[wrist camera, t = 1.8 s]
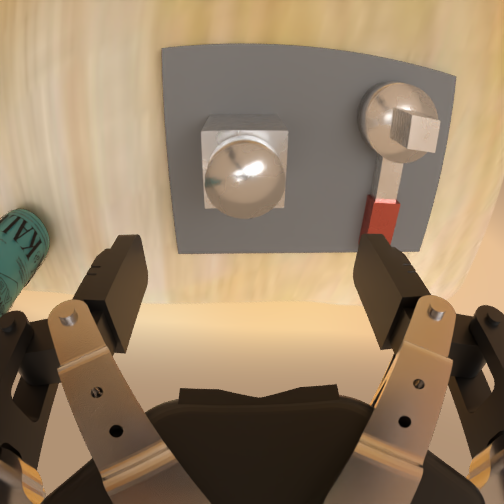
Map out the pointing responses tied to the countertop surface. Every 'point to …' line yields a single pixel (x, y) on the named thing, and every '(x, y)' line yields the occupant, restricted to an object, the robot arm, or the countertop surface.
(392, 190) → the ratchet
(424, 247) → the countertop surface
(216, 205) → the metal block with knob
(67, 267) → the countertop surface
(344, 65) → the tool mat
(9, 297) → the beverage bottle
